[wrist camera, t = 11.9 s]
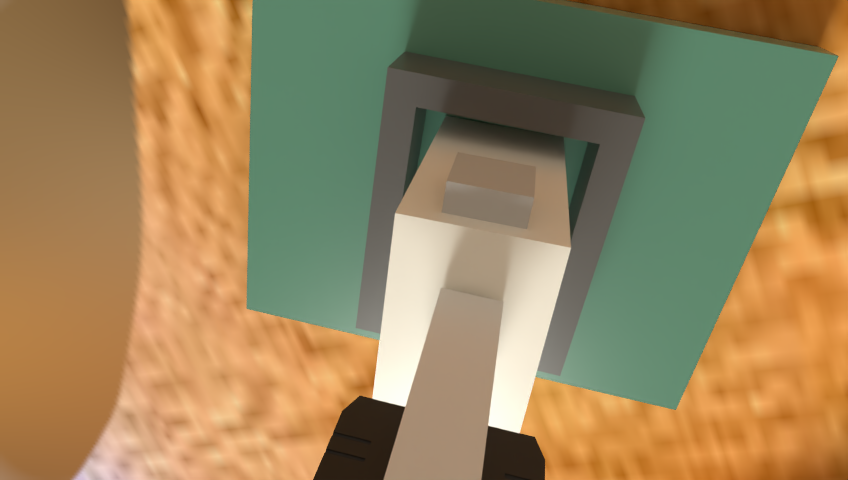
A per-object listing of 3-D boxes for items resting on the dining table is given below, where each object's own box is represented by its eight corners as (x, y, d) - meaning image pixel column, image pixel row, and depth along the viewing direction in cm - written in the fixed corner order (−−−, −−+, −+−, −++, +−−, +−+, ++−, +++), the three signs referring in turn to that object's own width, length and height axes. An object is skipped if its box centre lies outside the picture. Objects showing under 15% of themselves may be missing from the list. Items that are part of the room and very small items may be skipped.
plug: (422, 266, 24) (371, 410, 17) (449, 92, 21) (399, 180, 14) (526, 288, 24) (516, 443, 17) (569, 114, 21) (580, 215, 14)
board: (260, 290, 28) (219, 343, 24) (272, -54, 21) (217, -49, 18) (669, 385, 26) (687, 457, 23) (819, 46, 20) (877, 74, 16)
